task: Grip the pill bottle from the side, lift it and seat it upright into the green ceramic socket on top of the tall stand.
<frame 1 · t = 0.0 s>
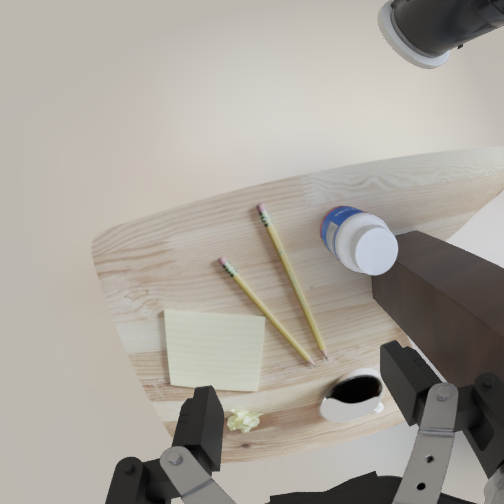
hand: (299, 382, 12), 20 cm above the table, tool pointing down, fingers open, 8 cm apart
pill bottle: (341, 228, 30), on the table
stand: (396, 264, 31), on the table
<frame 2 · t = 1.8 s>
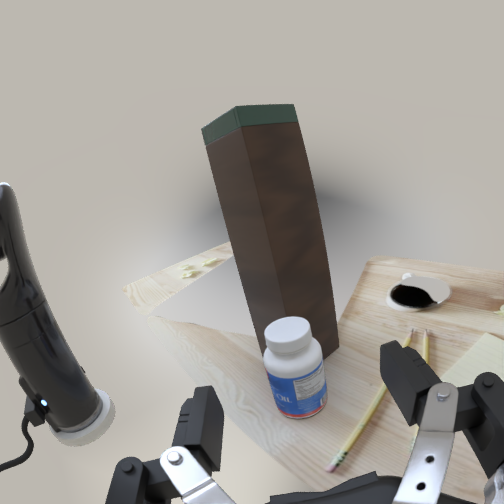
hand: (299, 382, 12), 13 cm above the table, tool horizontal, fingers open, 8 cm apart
pill bottle: (302, 402, 26), on the table
stand: (300, 352, 34), on the table
socket: (250, 132, 27), resting on stand
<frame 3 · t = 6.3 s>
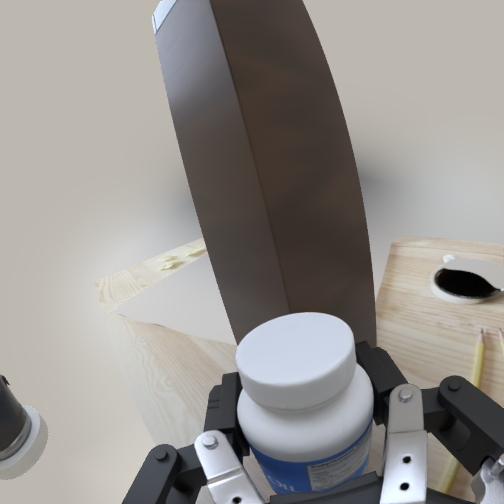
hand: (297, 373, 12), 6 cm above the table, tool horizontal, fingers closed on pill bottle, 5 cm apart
pill bottle: (318, 473, 11), on the table, touching gripper
stand: (312, 375, 20), on the table
socket: (224, 9, 13), resting on stand
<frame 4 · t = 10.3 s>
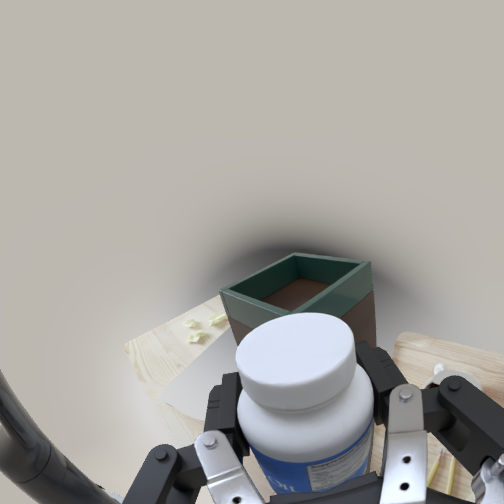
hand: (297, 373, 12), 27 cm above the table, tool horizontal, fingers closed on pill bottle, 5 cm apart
pill bottle: (318, 473, 11), point 20 cm above the table, touching gripper
stand: (330, 479, 25), on the table
socket: (299, 304, 18), resting on stand
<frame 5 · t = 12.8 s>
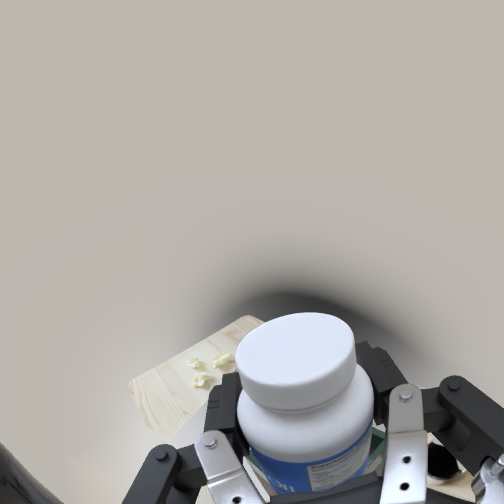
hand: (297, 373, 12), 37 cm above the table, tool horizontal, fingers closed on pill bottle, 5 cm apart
pill bottle: (318, 473, 11), point 30 cm above the table, touching gripper
socket: (320, 463, 15), resting on stand
when the fingers open (33 cm above the table, at t = 14.8 s): pill bottle stays where it is, resting on stand.
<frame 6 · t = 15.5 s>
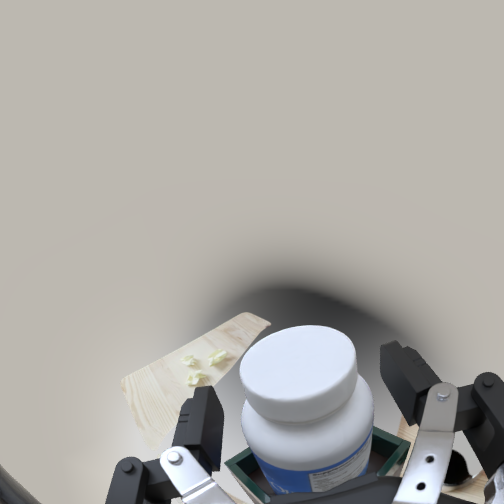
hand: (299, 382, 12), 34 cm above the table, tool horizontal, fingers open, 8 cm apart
pill bottle: (319, 477, 12), point 27 cm above the table, touching stand
socket: (319, 475, 12), resting on stand
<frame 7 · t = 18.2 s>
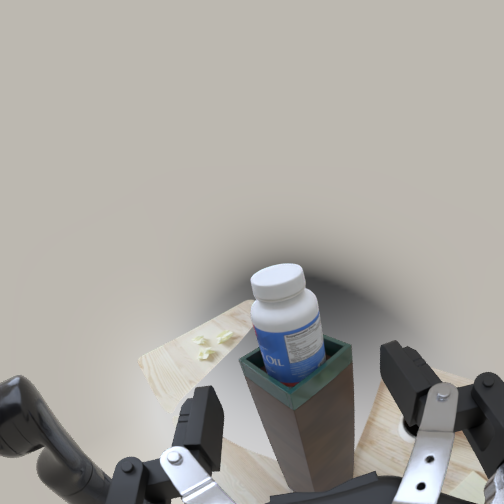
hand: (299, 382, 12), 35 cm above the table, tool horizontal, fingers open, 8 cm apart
pill bottle: (297, 372, 24), point 27 cm above the table, touching stand
stand: (320, 484, 31), on the table
socket: (297, 370, 24), resting on stand
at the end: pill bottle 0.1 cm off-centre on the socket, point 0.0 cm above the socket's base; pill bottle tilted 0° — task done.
